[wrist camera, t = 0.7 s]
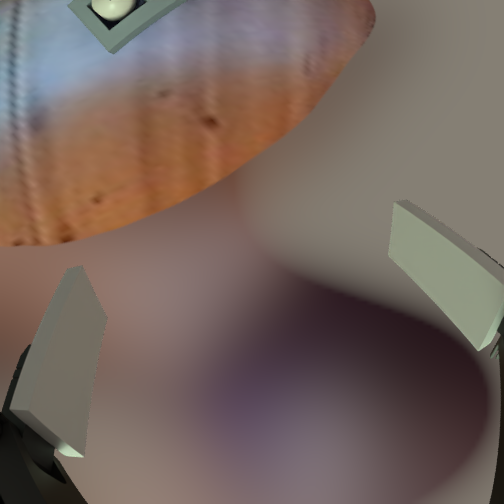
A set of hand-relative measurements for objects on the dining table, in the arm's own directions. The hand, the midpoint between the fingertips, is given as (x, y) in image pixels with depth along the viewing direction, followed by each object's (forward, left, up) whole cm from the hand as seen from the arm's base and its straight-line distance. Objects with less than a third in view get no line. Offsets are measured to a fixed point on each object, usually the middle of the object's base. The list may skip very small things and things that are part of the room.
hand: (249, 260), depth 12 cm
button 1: (-21, +3, -24) cm, 32 cm away
